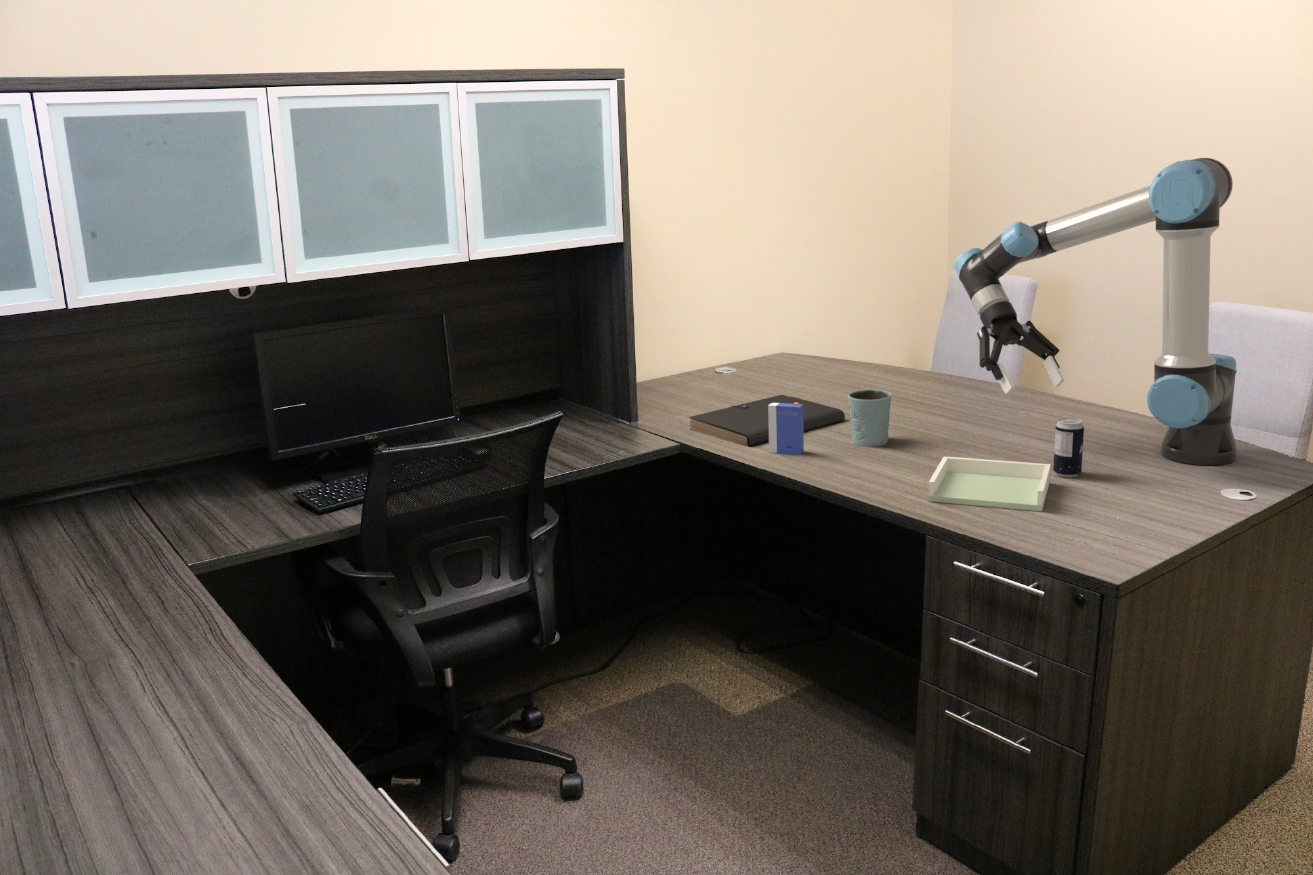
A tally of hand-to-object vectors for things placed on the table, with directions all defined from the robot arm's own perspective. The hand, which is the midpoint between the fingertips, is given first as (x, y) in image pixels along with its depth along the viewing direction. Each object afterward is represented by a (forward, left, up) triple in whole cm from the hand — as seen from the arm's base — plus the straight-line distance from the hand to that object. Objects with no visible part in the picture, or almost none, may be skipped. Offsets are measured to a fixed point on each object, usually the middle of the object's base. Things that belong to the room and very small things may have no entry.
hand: (1035, 387), depth 239 cm
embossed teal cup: (+38, -6, -17) cm, 42 cm away
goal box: (+6, +24, -17) cm, 30 cm away
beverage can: (-8, +8, -17) cm, 21 cm away
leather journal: (+67, -15, -18) cm, 71 cm away
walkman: (+55, +7, -17) cm, 58 cm away
